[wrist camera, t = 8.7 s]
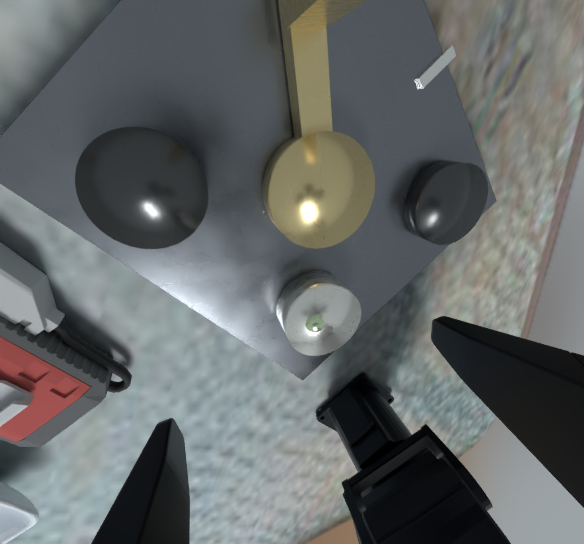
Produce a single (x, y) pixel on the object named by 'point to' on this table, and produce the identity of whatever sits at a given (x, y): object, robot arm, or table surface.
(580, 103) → the table surface
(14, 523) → the salad plate
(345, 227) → the brass knob
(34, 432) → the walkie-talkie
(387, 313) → the table surface
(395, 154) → the instrument base
